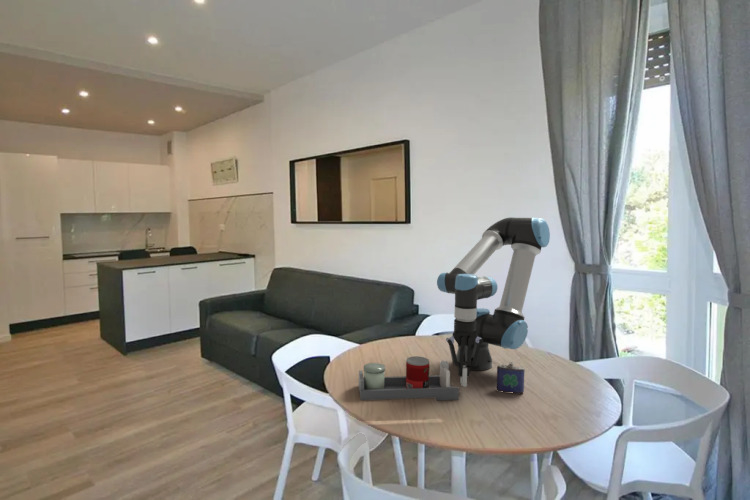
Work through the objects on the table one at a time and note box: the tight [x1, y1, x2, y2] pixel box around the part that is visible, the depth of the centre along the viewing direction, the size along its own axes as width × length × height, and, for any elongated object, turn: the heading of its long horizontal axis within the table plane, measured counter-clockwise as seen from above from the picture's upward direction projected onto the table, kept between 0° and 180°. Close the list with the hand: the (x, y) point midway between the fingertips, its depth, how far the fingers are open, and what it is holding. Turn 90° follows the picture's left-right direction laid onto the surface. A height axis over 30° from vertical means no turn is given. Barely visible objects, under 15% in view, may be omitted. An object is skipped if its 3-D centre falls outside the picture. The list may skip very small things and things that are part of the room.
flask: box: [496, 361, 526, 394], centre depth 150 cm, size 9×3×11 cm, turn 74°
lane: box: [358, 369, 460, 401], centre depth 148 cm, size 33×12×7 cm, turn 95°
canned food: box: [405, 356, 430, 388], centre depth 148 cm, size 8×8×11 cm
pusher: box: [439, 360, 451, 387], centre depth 149 cm, size 2×9×10 cm, turn 5°
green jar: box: [363, 362, 386, 390], centre depth 147 cm, size 7×7×9 cm
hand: (463, 385), depth 150 cm, fingers closed
